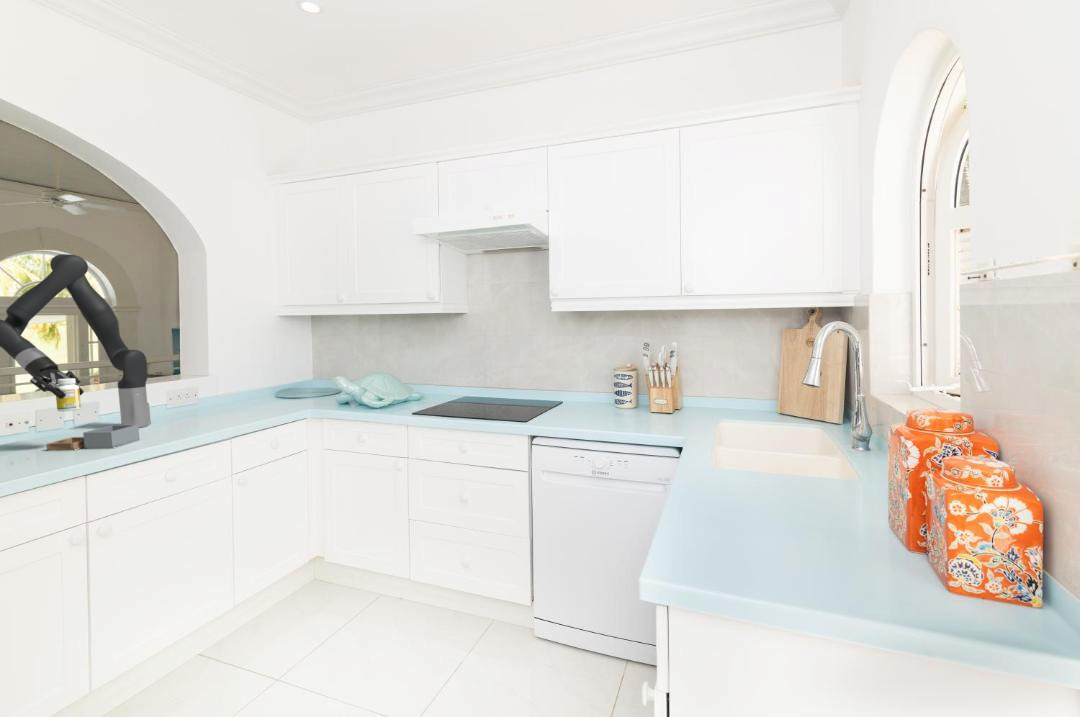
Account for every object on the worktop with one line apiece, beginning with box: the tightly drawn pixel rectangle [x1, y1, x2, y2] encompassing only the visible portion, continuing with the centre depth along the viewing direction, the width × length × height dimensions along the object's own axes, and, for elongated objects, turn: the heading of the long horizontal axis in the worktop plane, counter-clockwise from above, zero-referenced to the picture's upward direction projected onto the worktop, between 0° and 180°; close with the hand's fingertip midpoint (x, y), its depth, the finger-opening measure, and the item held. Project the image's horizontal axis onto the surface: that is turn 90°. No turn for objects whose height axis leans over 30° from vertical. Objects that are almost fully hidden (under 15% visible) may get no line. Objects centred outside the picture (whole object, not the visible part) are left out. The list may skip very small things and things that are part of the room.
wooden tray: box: [46, 436, 85, 451], centre depth 181 cm, size 10×10×2 cm
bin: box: [82, 424, 140, 449], centre depth 184 cm, size 12×10×6 cm
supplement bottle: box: [55, 378, 82, 412], centre depth 179 cm, size 6×6×11 cm
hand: (72, 395), depth 179 cm, fingers closed on supplement bottle, 6 cm apart
